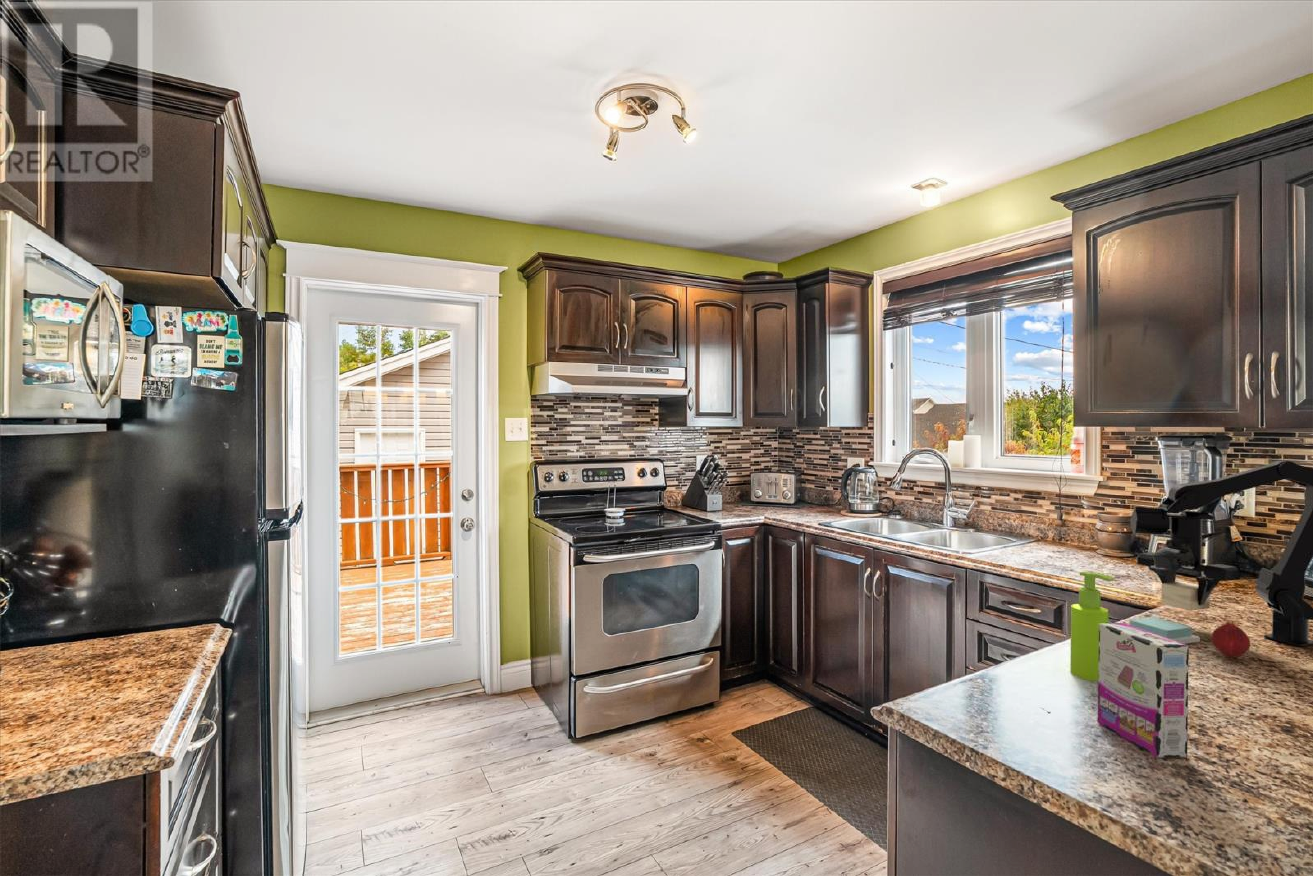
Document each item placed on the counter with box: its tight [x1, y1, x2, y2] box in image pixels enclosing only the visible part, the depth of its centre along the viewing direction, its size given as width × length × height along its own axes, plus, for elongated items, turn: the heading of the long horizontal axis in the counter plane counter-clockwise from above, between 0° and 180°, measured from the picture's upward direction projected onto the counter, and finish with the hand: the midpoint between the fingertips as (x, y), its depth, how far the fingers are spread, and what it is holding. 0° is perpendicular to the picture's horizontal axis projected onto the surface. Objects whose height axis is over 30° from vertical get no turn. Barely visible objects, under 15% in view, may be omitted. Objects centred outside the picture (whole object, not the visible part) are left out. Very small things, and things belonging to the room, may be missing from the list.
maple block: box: [1161, 580, 1211, 612], centre depth 146 cm, size 7×6×5 cm
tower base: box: [1129, 616, 1201, 645], centre depth 140 cm, size 10×10×3 cm
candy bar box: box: [1097, 622, 1190, 759], centre depth 93 cm, size 11×5×16 cm, turn 5°
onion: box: [1211, 619, 1251, 660], centre depth 127 cm, size 6×6×8 cm
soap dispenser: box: [1070, 570, 1116, 682], centre depth 117 cm, size 6×7×20 cm
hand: (1185, 601), depth 146 cm, fingers closed on maple block, 6 cm apart
